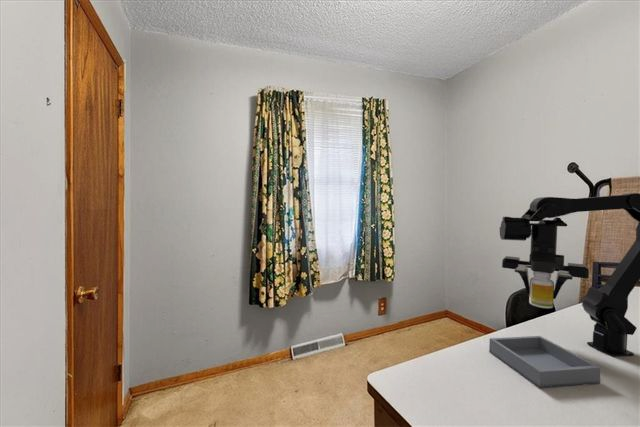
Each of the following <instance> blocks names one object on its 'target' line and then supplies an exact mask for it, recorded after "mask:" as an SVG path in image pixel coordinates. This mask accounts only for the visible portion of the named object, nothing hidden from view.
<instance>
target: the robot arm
mask: <svg viewBox="0 0 640 427" xmlns="http://www.w3.org/2000/svg"><path fill="white" fill-rule="evenodd" d="M609 210H610V211H613V210H624V211H625V212H626V213H627V214H628V215H629V217H630V218H632V219H634V220H635V221H636V222H638V224H637V226H636V228H635V231H636V232H635V235H636V236H635V239H634V240H635V241H634V242H633V243H632V245H631V247H629V249H628V250H627V252H626V253H625V254H624V256H623V258H622V259H621V260H620V262H619V263H618V265H617V266H616V267H615V269H614V271H613V272H612V273H611V275H610V276H609V277H608V279H607V281H606V282H605V284H603V285H602V286H600V287H597V288H596V287H593V286H590V287H589V288H588V290H587V292H586V294H585V295H584V296H582V297H581V299H582V303H581V306H582V309H583V310H584V311H585V313H587V314H588V315H589V318H590V320H591V321H593V322H594V323H595V324H593V325H594V326H593V332H592V341H587V342H586V344H587V345H588V346H590V347H592V348H595V349H597V350H599V351H600V352H603V353H605V354H607V355H610V356H612V357H621V356H623V357H624V356H625V357H626V356H634V355H635V354H634V352H633V351H631V350H629V349H628V335H629V336H634V334H635V332H636V330H637V329H638V328H637V326H636V325H635V324H633V323H632V322H631V321H630V320H629V319H628V318H627V317H625V316H626V314H627V311H628V310H629V309H628V308H629V296H630V294H631V292H632V291H633V290H634V289H635V287H636V285H637V284H639V283H638V282H640V193H639V192H638V193H636V192H633V193H632V192H630V193H622V194H618V195H617V194H616V195H614V194H613V195H606V196H605V195H604V196H592V197H580V198H579V197H578V198H571V197H570V198H569V197H557V196H556V197H554V196H545V197H536V198H534V199H533V200H531V202H530V204H529V208H528V209H527V210H526V211H525V212H524V214H523V215H522V216H520V217H511V216H502V221H501V222H500V226H499V237H500V239H501V240H504V241H521V242H525V241H526V240H527V239H530V251H529V252H530V253H529V260H521V258H520V257H518V256H517V257H516V256H507V255H506V256H505V257H503V258H502V262H501V268H503V269H510V270H514V273H518V274H519V276H520V278H521V279H522V282H523V284H524V287H525V291H526V293H527V295H528V296H529V293H530V277H529V269H530V270H531V271H535V272H538V271H540V272H546V273H551V274H554V272H557V273H556V279H555V282H554V295H553V300H556V299H557V296H558V294H559V293H560V290H561V289H562V287H563V285H564V284H565V282H566V281H568V280H570V281H571V280H573V278H578V279H589V275H590V269H589V268H588V266H587V265H585V264H582V263H575V262H567V265H565V255H564V254H557V242H558V241H557V240H558V227H568V223H566V222H564V221H563V220H562V218H561V217H563V216H567V215H570V214H573V213H574V214H575V213H583V212H595V211H596V212H597V211H609ZM546 218H547V219H546ZM552 218H553V219H552ZM528 268H529V269H528Z"/></svg>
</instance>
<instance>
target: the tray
mask: <svg viewBox="0 0 640 427" xmlns="http://www.w3.org/2000/svg"><path fill="white" fill-rule="evenodd" d="M488 348H489V350H488V351H489V353H490V354H491V355H493V356H494V357H495V358H497V359H498V360H500V361H501V362H503V363H504V364H505V365H507V366H508V367H509V368H511V369H512V371H513V370H514V371H515V372H516V373H518V374H519V375H520V376H522V377H523V378H524V379H526V380H527V381H528V382H530V383H531V384H532V385H534V386H535V387H537V388H538V389H550V388H551V389H552V388H554V389H555V388H563V387H565V388H566V387H577V386H590V385H600V384H601V375H602V374H601V370H602V368H601V367H600V366H599V365H596V364H595V363H593V362H592V361H589V360H587V359H585V358H583V357H581V356H580V355H579V354H578V355H577V354H576V353H574V352H572V351H570V350H569V349H566V348H564V347H562V346H561V345H559V344H557V343H554V342H553V341H551V340H549V339H547V338H545V337H543V336H542V335H529V336H527V335H526V336H514V337H513V336H511V337H510V336H509V337H490V338H489V346H488Z"/></svg>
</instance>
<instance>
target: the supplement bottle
mask: <svg viewBox="0 0 640 427" xmlns="http://www.w3.org/2000/svg"><path fill="white" fill-rule="evenodd" d="M532 275H533V276H532V277H531V278H529V286H530V293H529V295H528V297H529V299H528V302H529V304H530V305H532V306H533V307H537V308H540V309H541V308H542V309H553V308H554V299H553V295H554V287H555V282H554V281H553V279H551V278H552V273H546V272H540V271H538V272H535V271H533V272H532Z"/></svg>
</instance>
